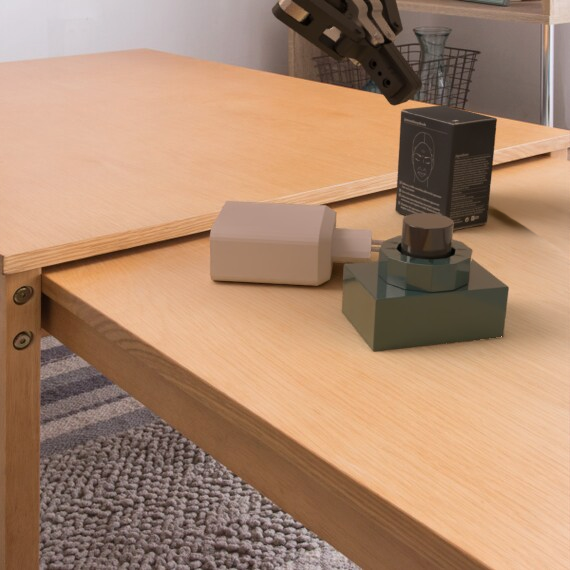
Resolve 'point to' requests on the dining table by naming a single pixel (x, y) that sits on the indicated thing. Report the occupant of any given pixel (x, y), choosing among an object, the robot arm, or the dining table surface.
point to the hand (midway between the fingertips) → (408, 96)
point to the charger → (283, 243)
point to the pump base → (422, 299)
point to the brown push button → (427, 236)
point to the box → (445, 164)
